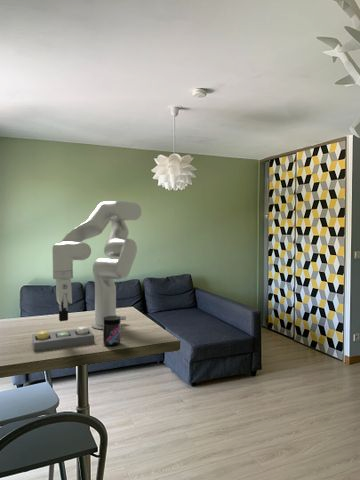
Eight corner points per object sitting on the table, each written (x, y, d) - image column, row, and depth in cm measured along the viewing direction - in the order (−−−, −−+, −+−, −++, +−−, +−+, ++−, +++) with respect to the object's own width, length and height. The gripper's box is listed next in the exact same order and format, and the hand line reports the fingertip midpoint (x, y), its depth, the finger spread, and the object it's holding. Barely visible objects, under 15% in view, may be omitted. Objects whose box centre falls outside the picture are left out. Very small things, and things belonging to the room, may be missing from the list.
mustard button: (48, 336, 138) (48, 330, 137) (49, 340, 134) (49, 333, 134) (36, 338, 136) (36, 331, 136) (37, 341, 132) (37, 335, 132)
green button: (68, 337, 141) (68, 331, 141) (69, 341, 137) (69, 334, 137) (56, 339, 139) (56, 333, 139) (58, 342, 135) (58, 336, 135)
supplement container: (102, 347, 133) (102, 320, 132) (103, 341, 139) (103, 315, 139) (120, 346, 134) (120, 319, 133) (120, 340, 140) (120, 315, 140)
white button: (86, 331, 144) (86, 326, 144) (89, 335, 140) (89, 328, 140) (75, 333, 142) (75, 327, 142) (77, 336, 138) (77, 330, 138)
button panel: (88, 334, 148) (88, 327, 148) (94, 342, 138) (94, 335, 138) (32, 341, 138) (32, 334, 138) (34, 351, 128) (34, 343, 128)
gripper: (76, 276, 132) (76, 324, 133) (69, 271, 145) (70, 314, 146) (55, 278, 129) (55, 326, 130) (50, 272, 142) (51, 316, 143)
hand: (63, 320), depth 138 cm, fingers closed
